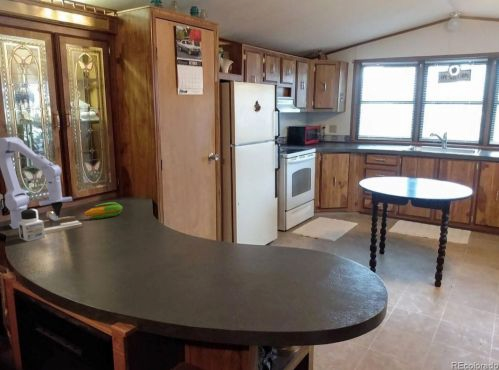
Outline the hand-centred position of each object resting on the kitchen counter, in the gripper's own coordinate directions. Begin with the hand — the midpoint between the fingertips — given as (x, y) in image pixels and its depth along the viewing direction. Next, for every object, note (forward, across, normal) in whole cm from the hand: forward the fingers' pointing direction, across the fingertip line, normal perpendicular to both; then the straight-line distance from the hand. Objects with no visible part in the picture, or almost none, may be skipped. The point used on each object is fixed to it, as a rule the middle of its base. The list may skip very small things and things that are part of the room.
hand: (57, 217), depth 189 cm
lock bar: (+1, -2, +3) cm, 3 cm away
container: (+5, -14, -9) cm, 17 cm away
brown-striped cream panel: (+5, 0, +3) cm, 6 cm away
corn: (+6, +24, +4) cm, 25 cm away
